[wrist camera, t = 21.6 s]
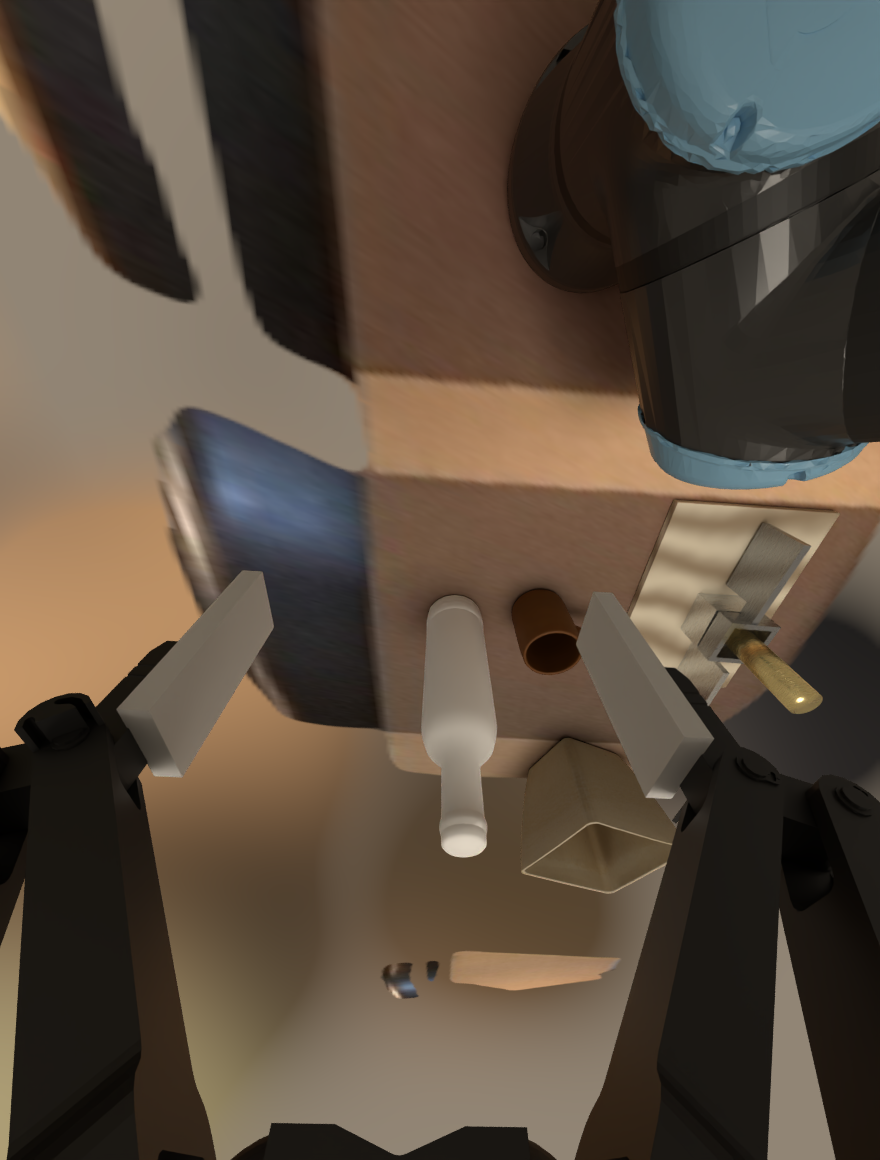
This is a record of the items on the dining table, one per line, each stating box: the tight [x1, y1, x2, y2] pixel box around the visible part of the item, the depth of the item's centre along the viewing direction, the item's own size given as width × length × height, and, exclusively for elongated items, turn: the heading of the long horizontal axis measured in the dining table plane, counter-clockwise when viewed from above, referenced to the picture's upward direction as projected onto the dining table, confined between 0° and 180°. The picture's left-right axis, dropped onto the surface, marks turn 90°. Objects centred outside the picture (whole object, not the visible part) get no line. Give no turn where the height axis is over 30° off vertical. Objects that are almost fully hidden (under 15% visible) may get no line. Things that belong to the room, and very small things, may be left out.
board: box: [627, 500, 840, 688], centre depth 53 cm, size 30×20×1 cm, turn 176°
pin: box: [725, 628, 823, 714], centre depth 46 cm, size 3×3×16 cm
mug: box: [512, 589, 582, 675], centre depth 50 cm, size 12×8×9 cm, turn 83°
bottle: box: [421, 595, 497, 857], centre depth 42 cm, size 8×8×30 cm
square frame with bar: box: [697, 523, 811, 664], centre depth 47 cm, size 17×6×6 cm, turn 174°
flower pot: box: [521, 738, 676, 894], centre depth 66 cm, size 19×19×17 cm
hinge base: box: [677, 593, 746, 706], centre depth 51 cm, size 26×6×7 cm, turn 176°
